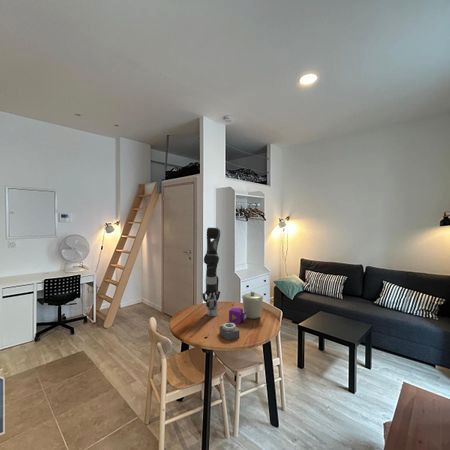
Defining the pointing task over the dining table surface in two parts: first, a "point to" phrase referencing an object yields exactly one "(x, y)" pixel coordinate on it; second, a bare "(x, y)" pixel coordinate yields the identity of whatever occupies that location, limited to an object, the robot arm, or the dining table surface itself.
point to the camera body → (229, 331)
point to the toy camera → (236, 315)
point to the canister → (252, 305)
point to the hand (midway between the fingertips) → (211, 306)
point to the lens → (211, 303)
